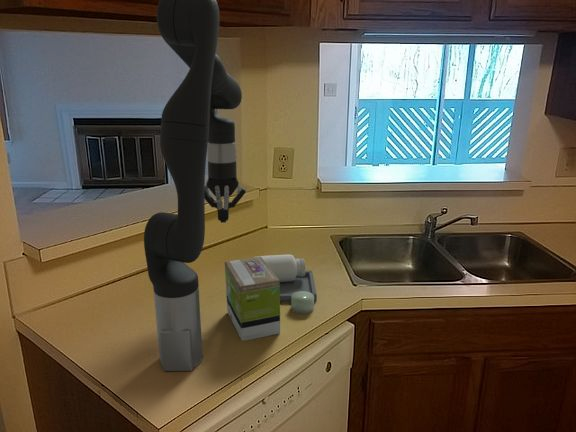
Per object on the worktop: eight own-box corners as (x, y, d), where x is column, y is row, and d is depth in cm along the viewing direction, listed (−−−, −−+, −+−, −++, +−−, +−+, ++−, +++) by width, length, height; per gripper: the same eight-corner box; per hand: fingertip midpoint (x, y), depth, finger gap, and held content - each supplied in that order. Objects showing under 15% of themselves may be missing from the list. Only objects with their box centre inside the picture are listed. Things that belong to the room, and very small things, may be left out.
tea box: (225, 312, 127) (223, 260, 123) (262, 306, 131) (261, 254, 126) (241, 342, 114) (239, 285, 109) (281, 334, 117) (281, 278, 113)
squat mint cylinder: (314, 313, 127) (315, 301, 126) (291, 314, 127) (291, 301, 126) (313, 302, 133) (313, 291, 132) (290, 302, 133) (291, 291, 131)
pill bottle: (252, 271, 147) (301, 268, 149) (254, 289, 141) (305, 286, 143) (252, 250, 143) (302, 248, 145) (254, 268, 136) (307, 266, 138)
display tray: (316, 301, 133) (316, 295, 133) (255, 301, 133) (255, 295, 132) (312, 276, 148) (312, 270, 148) (257, 276, 148) (257, 271, 147)
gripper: (194, 161, 125) (197, 226, 130) (246, 162, 125) (247, 226, 130) (198, 156, 132) (201, 217, 137) (247, 156, 132) (248, 217, 138)
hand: (223, 221), depth 134 cm, fingers closed
